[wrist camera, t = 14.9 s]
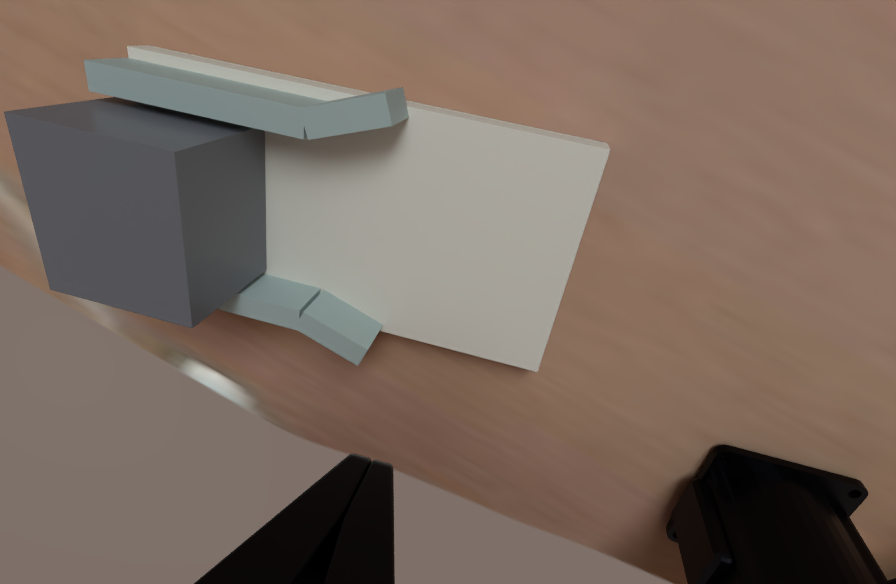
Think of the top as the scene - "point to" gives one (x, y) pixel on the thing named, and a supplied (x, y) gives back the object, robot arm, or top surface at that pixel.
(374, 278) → the board
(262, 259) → the grey block
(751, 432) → the top surface
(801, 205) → the top surface
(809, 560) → the robot arm
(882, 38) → the top surface
